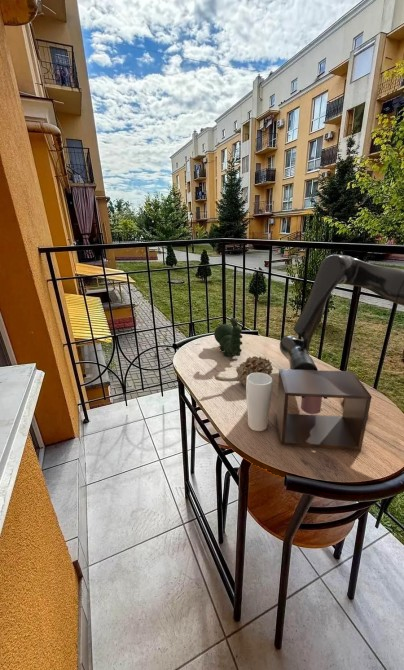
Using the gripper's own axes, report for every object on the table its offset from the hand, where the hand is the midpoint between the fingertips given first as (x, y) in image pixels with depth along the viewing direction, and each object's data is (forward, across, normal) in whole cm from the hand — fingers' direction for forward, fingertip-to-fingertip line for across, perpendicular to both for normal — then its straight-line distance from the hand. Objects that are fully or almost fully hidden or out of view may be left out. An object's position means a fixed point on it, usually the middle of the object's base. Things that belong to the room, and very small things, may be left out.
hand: (314, 395), depth 75 cm
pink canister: (-3, 0, +6) cm, 7 cm away
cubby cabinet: (+4, 0, +9) cm, 10 cm away
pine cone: (-19, -19, +9) cm, 28 cm away
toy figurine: (-48, -26, +9) cm, 56 cm away
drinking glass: (+3, -15, +9) cm, 18 cm away
